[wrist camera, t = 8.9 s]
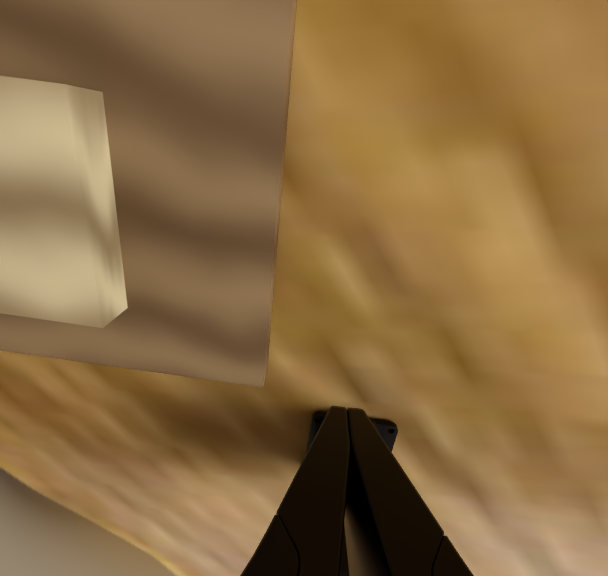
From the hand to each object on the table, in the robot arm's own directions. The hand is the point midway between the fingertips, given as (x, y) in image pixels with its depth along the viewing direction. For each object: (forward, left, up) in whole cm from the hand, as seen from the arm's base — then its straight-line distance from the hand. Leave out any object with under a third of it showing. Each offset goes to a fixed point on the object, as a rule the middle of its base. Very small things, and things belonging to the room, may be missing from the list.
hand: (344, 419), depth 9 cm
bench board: (+2, +15, -13) cm, 20 cm away
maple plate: (+2, +17, -11) cm, 20 cm away
